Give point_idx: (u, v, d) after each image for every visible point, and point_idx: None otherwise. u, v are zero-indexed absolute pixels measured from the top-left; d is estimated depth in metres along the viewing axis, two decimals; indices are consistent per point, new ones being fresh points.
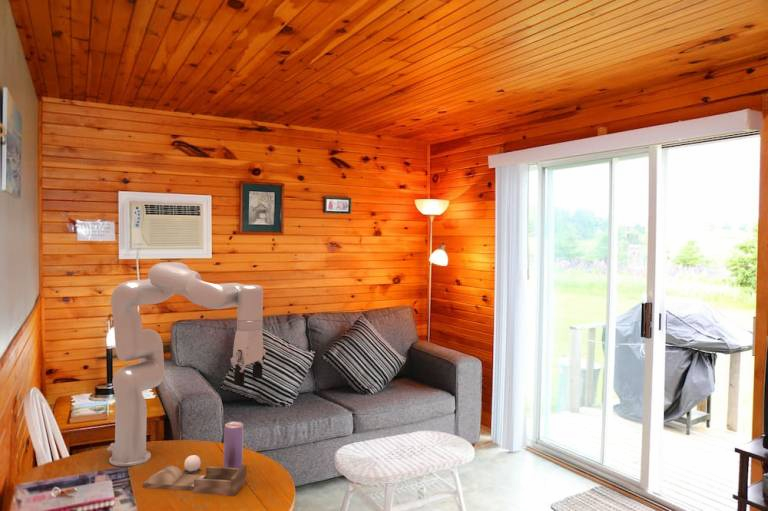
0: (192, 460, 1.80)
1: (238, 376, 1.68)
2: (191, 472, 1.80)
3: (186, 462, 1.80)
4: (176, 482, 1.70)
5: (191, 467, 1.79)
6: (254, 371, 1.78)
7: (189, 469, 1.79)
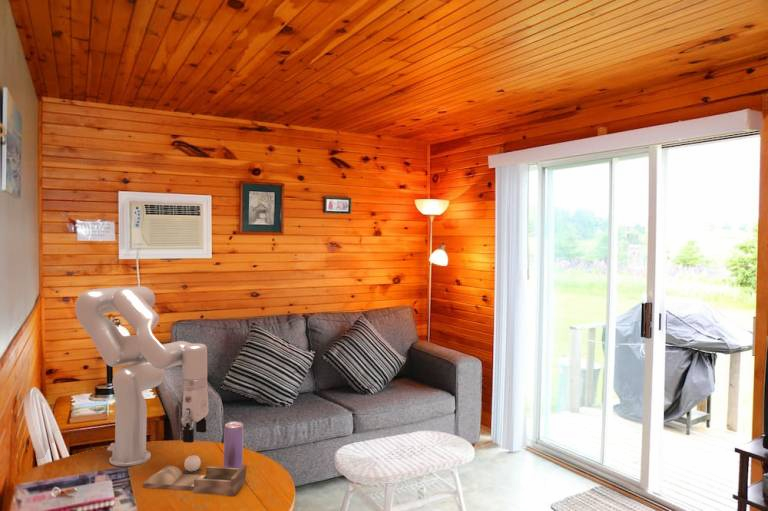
0: (192, 460, 1.80)
1: None
2: (191, 472, 1.80)
3: (186, 462, 1.80)
4: (176, 482, 1.70)
5: (191, 467, 1.79)
6: None
7: (189, 469, 1.79)
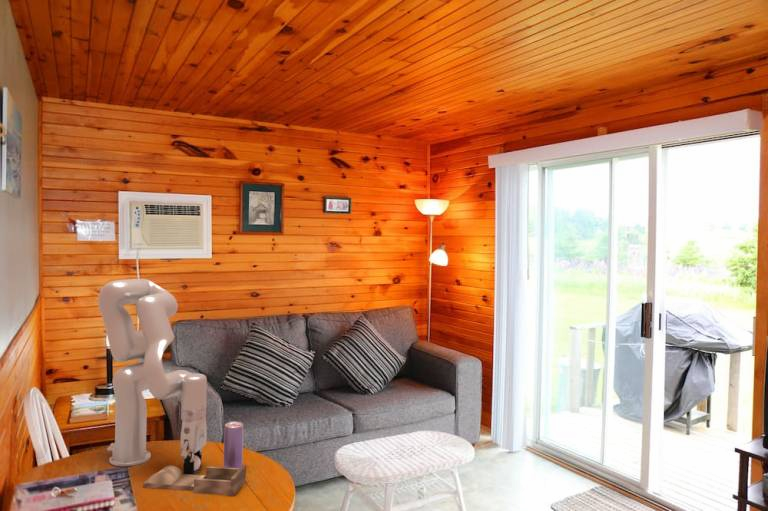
0: None
1: None
2: None
3: None
4: (176, 482, 1.70)
5: None
6: None
7: None
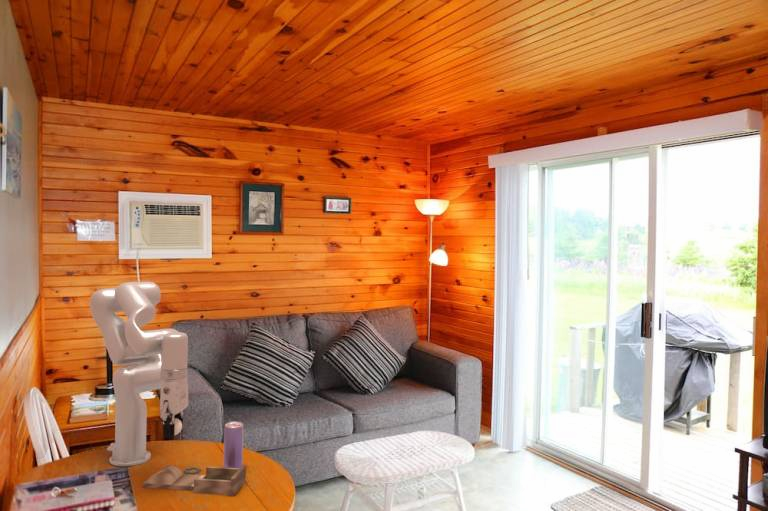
0: (173, 422, 1.70)
1: None
2: (191, 472, 1.80)
3: None
4: (176, 482, 1.70)
5: None
6: None
7: None
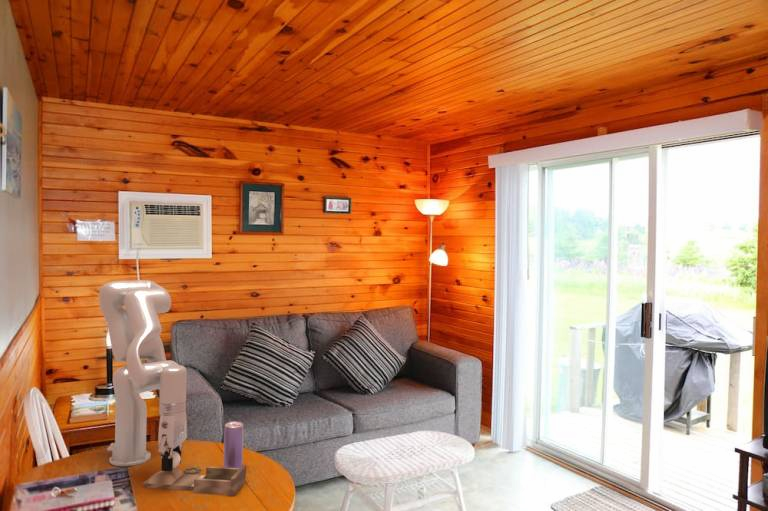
0: None
1: None
2: (191, 472, 1.80)
3: None
4: (176, 482, 1.70)
5: None
6: None
7: None
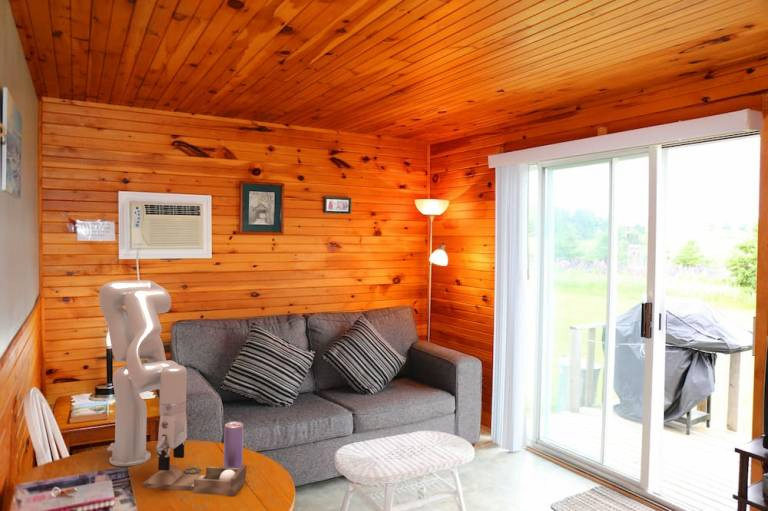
0: None
1: None
2: (191, 472, 1.80)
3: (227, 476, 1.69)
4: (176, 482, 1.70)
5: None
6: None
7: None
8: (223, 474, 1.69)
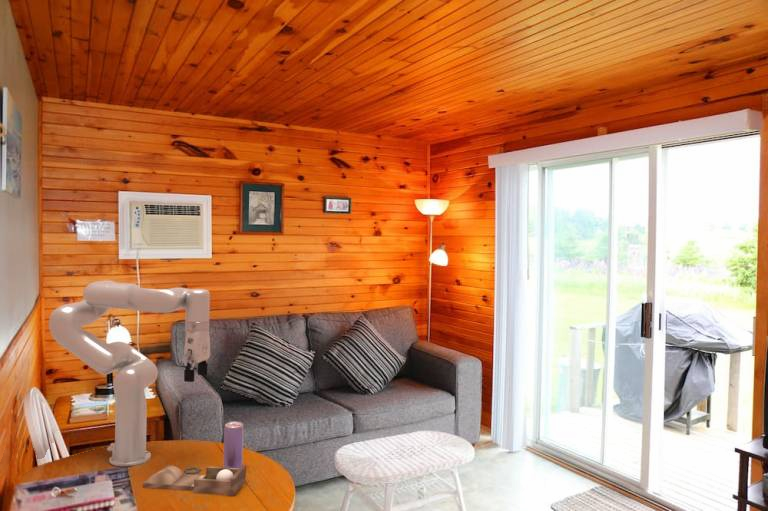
0: (228, 478, 1.69)
1: None
2: (191, 472, 1.80)
3: (222, 475, 1.69)
4: (176, 482, 1.70)
5: None
6: None
7: None
8: (218, 475, 1.69)
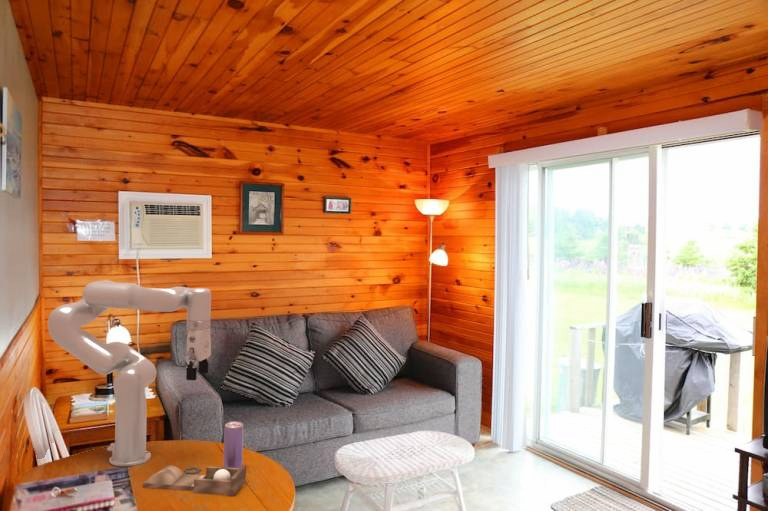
0: (224, 476, 1.69)
1: None
2: (191, 472, 1.80)
3: (217, 475, 1.69)
4: (176, 482, 1.70)
5: None
6: None
7: None
8: (214, 477, 1.70)
